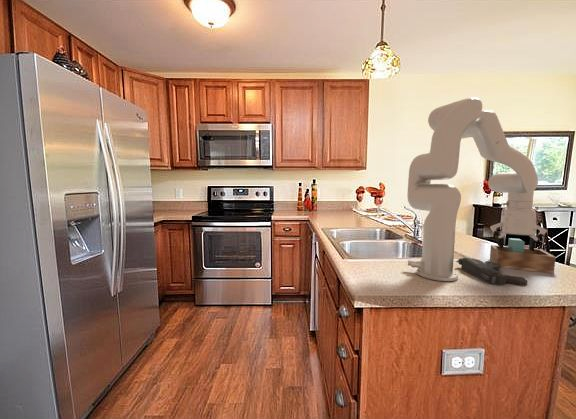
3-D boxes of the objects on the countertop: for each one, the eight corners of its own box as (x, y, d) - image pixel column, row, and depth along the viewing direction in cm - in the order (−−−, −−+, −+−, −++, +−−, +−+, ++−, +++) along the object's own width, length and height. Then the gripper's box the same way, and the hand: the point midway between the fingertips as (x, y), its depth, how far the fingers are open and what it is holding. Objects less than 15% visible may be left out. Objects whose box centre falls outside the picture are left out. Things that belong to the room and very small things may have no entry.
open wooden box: (497, 266, 103) (498, 251, 103) (489, 259, 114) (490, 245, 114) (553, 273, 96) (555, 256, 95) (540, 264, 107) (541, 249, 106)
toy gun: (494, 258, 102) (454, 253, 103) (538, 277, 83) (489, 272, 84) (492, 270, 103) (452, 265, 104) (535, 292, 84) (486, 287, 85)
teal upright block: (513, 265, 102) (515, 242, 101) (506, 259, 110) (508, 238, 109) (525, 266, 101) (527, 243, 100) (517, 260, 109) (519, 238, 108)
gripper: (494, 205, 105) (491, 248, 107) (553, 207, 97) (549, 253, 99) (489, 204, 112) (487, 244, 113) (544, 205, 104) (540, 249, 106)
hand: (515, 248), depth 106 cm, fingers open, 9 cm apart
